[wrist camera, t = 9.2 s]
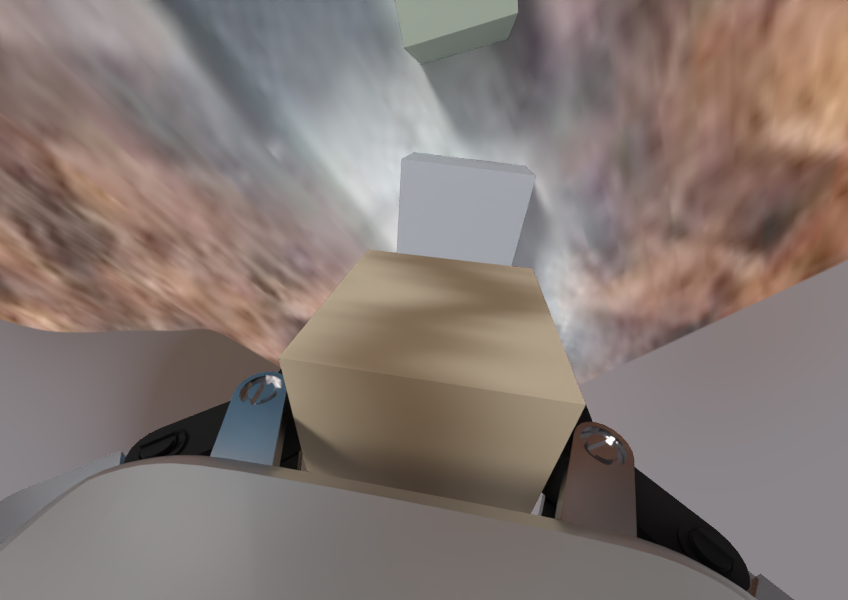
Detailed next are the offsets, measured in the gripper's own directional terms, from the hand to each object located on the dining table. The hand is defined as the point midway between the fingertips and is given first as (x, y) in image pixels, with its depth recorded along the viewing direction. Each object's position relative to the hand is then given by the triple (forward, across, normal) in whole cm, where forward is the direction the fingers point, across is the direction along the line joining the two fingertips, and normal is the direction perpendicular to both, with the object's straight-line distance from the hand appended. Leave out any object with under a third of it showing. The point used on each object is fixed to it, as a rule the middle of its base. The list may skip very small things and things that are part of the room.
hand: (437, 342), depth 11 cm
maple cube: (+1, 0, 0) cm, 1 cm away
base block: (+18, 0, 0) cm, 18 cm away
